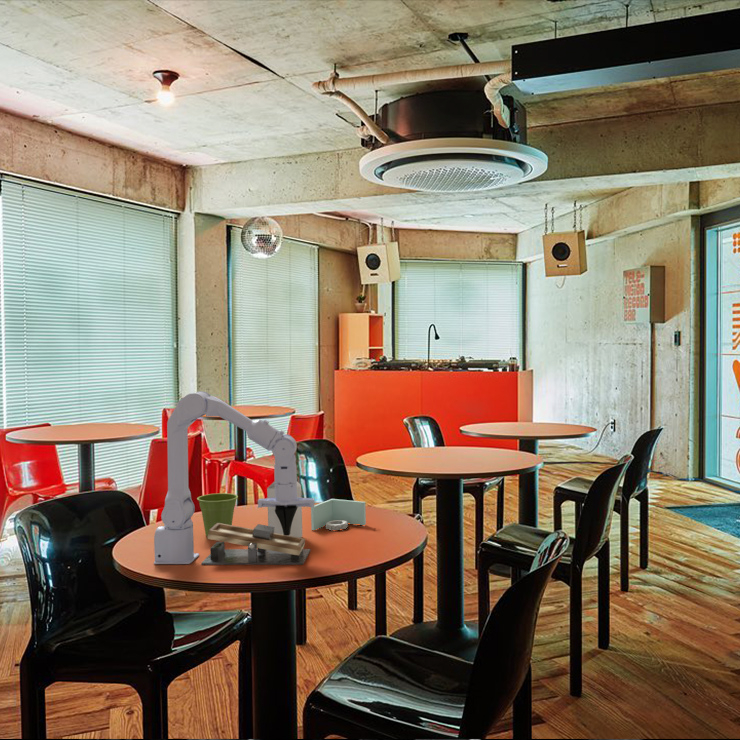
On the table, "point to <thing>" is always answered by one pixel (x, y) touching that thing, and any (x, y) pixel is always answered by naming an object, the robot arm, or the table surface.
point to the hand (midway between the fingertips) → (287, 534)
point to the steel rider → (263, 532)
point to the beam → (256, 539)
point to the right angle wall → (337, 514)
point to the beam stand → (252, 556)
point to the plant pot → (217, 509)
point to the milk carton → (274, 521)
